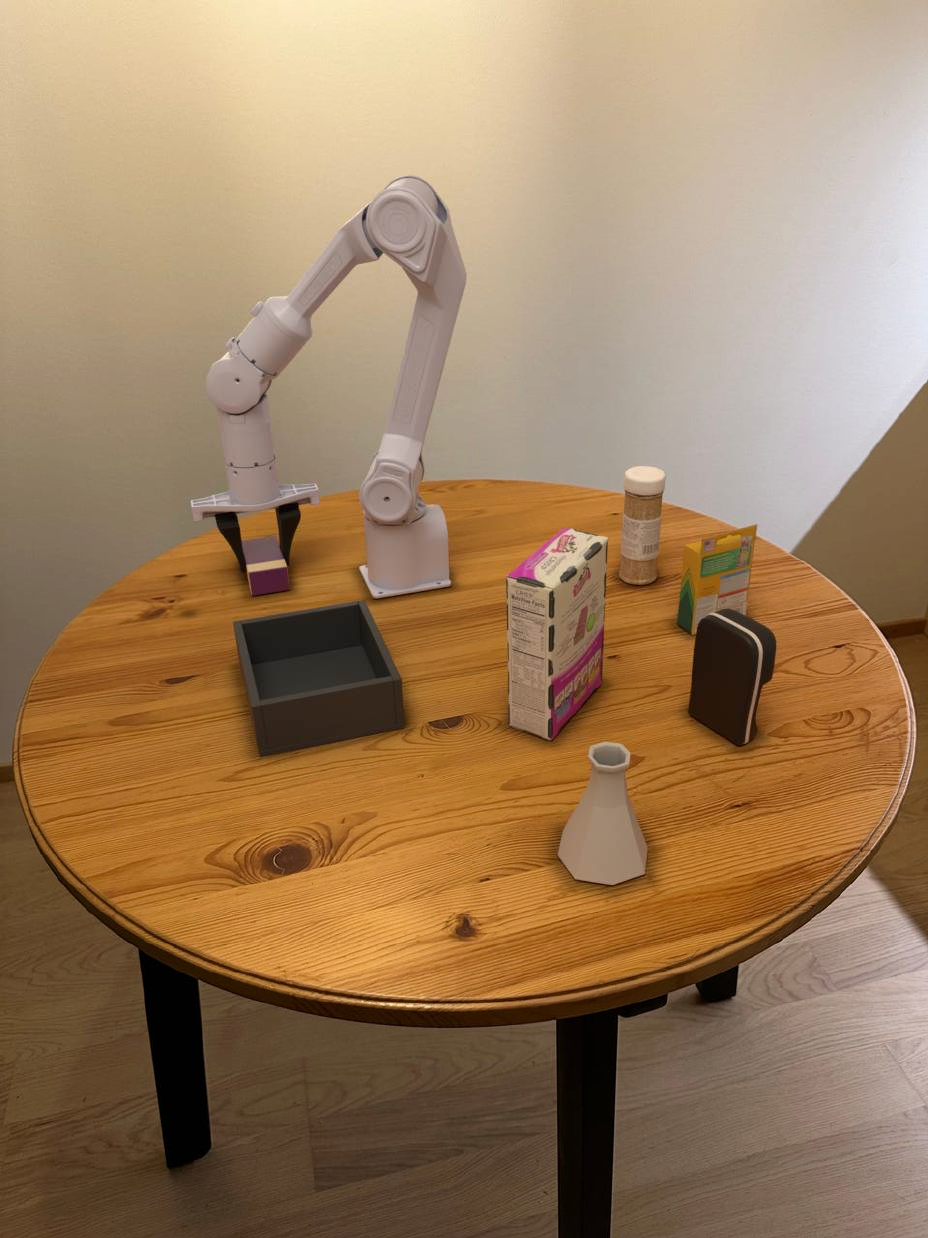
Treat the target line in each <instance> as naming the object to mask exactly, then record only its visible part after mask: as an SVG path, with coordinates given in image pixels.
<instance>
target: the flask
mask: <svg viewBox="0 0 928 1238" xmlns="http://www.w3.org/2000/svg"><path fill="white" fill-rule="evenodd" d="M631 755H632V754H631V752H630V751H629V750H628V749H627V748H626V746H624V744H623V743H619V742H610V741H602V742H599V743H595V744H592V745H590V746H589V751H588V755H587V761H588V763H589V764H590V766H591V767H590V776H589V779H588V782H587V786H586V788H585V790H584V791H583V793H582V796H581V798H580V799H579V801H578V803H577V805H576V807H575V809H574V810H573V811H572V814H570V815H571V816H570V817H569V818H568V820H567V821H566V824H565V826H564V827H563V830H562V833H561V838H560V841H559V845H558V846H559V847H558V851H557V856H558V858H559V860H561V862H562V863H563V865H564V866H565V867H566V869H567V870H568V871H569V873H570V874H571V876H572V877H573V879H575V880H578V881H585V882H591V883H597V884H603V885H608V886H614V885H617V884H620V883H623V882H625V881H628V880H631V879H634V878H637V877H640V876H642V875H645V874H646V869H647V868H646V867H647V858H648V849H649V848H648V845H647V842H646V839H645V836H644V833H643V831H642V828H641V826H640V824H639V821H638V818H637V816H636V813H635V809H634V806H633V804H632V801H631V798H630V795H629V791H628V785H627V776H626V770H629V768H630V763H631Z"/></svg>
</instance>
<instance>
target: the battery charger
mask: <svg viewBox="0 0 928 1238" xmlns="http://www.w3.org/2000/svg"><path fill="white" fill-rule="evenodd" d="M776 655H777V638H776V636H775V634H774V632H773V631H772V629H770V628H769V627H767V626H766V625H764V624H762V623H761V622H759V621H757V620H755V619H753V618H751V617H750V616H748V615H747V614H746V615H744V614H741V613H739V612H737V611H735V610H732V609H729V608H727V609H721V610H719V611H717V612H714V613H710V614H707V615H705V616H704V617H703V618H702V619H701V620H700V622H699V623H698V627H697V631H696V635H695V640H694V645H693V655H692V667H691V668H692V669H691V684H690V693H689V701H688V708H687V713H688V714H689V715H691V716H692V717H693V718H695V720H697V721H699V722H701V723H702V724H704V725H705V726H707V727H709V728H710V729H711V730H712V731H714V732H715V733H718V734H719V735H721V736H722V737H724V738H725V739H727V740H729V741H730V742H733V743H734V744H735V745H738V746H742V745H745V744H747V743H749V741H751V740H752V739H754V738H755V737H756V735H757V734H758V726H757V719H756V717H757V710H758V706H759V702H760V697H761V693H762V689H763V686H764V685H767V684H768V683H769V682H771V681H772V680H773V676H774V670H775V663H776Z"/></svg>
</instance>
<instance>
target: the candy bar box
mask: <svg viewBox="0 0 928 1238" xmlns="http://www.w3.org/2000/svg"><path fill="white" fill-rule="evenodd" d="M608 547H609V537H608V536H605V535H600V534H595V533H590V532H587V531H583V530H578V529H576V528H571V527H562V528H561V529H560V530H558V532H556V533H555V534H554V535H553V536H552V537H550V538H549V539H548V540H547V541H546V542H545V543H544V544H542V545H541V546H540V547H539V548H538V549H536V550H535V551H534V552H533V553H532V554H531V555H529V556H528V557H527V558H525V559H524V560H523V561H522V562H521V563H519V564H518V565H517V566H516V567H515V568H513V570H511V571H510V572H509V573H508V574H507V575H505V580H506V581H505V582H506V583H505V585H506V586H505V587H506V589H505V590H506V591H505V592H506V643H507V703H508V705H507V706H508V707H507V708H508V709H507V711H508V714H507V715H508V716H507V717H508V727H510V728H512V729H515V730H518V731H520V732H523V733H526V734H530V735H533V736H534V737H535V736H536V737H538V738H541V739H544V740H547V741H550V742H551V741H553V740H554V739H555V738H556V737H557V735H558V734H559V733H560V732H561V731H562V730H563V729H564V727H565V726H566V725H567V724H568V722H570V720H571V719H572V718H573V717H574V716H575V714H576V713H577V712H578V711H579V710H580V709H581V707H582V706H583V705H584V704H585V703H586V702H587V701H588V700H589V698H590V697H591V696H592V695H593V694H594V693H595V692H596V690H597V689H598V688H599V687H600V686H601V685H602V684H603V665H604V664H603V663H604V643H605V642H604V641H605V639H604V638H605V620H606V619H605V617H606V616H605V615H606V614H605V613H606V596H607V593H606V592H607V572H608V570H607V569H608Z"/></svg>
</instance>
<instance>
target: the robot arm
mask: <svg viewBox="0 0 928 1238" xmlns="http://www.w3.org/2000/svg"><path fill="white" fill-rule="evenodd" d="M383 255H385V256H386V257H388V258H389V259H391V260H392V261H393V262H395V263H396V264H397V265H398V266H400V267H401V268H402V270H403V271H404V272H405V275H406V276H407V277H408V279H409V280H410V282H411V283H412V285H413V286H414V288H415V289H416V291H417V296H416V299H415V303H414V307H413V311H412V316H411V319H410V324H409V328H408V332H407V337H406V340H405V345H404V348H403V353H402V358H401V361H400V365H399V370H398V374H397V378H396V380H395V381H396V383H395V385H394V389H393V394H392V398H391V401H390V406H389V409H388V410H389V411H388V415H387V418H386V422H385V427H384V431H383V434H382V438H381V441H380V445H379V448H378V449H377V450H376V452H375V453H374V455H373V456H372V459H371V462H370V467H369V469H368V472H367V474H366V477H365V479H364V480H363V481H362V483H361V485H360V488H359V492H358V499H359V504H360V506H361V509H362V515H363V529H364V540H365V541H364V542H365V552H366V553H365V554H366V564H364V565H359V567H358V568H359V569H358V570H359V572H360V574H361V576H362V578H363V580H364V582H365V585H366V587H367V589H368V591H369V593H370V595H371V597H372V598H373V599H383V598H388V597H395V596H401V595H407V594H412V593H419V592H423V591H424V592H425V591H431V590H437V589H442V588H448V587H451V586H452V580H451V579H450V554H449V552H450V549H449V531H448V524H447V520H446V519H447V518H446V516H445V513H444V511H443V509H442V507H441V506H440V505H439V504H426V501H424V499H423V498H422V496H421V494H420V492H419V490H420V485H421V483H422V481H423V479H424V475H425V464H424V459H423V448H424V444H425V441H426V436H427V431H428V428H429V423H430V419H431V416H432V412H433V409H434V405H435V401H436V397H437V394H438V390H439V386H440V382H441V379H442V375H443V371H444V368H445V363H446V360H447V357H448V352H449V349H450V345H451V341H452V337H453V333H454V329H455V326H456V323H457V319H458V316H459V315H458V314H459V312H460V311H459V310H460V308H461V303H462V299H463V296H464V292H465V288H466V284H467V276H468V275H467V270H466V266H465V264H464V261H463V257H462V253H461V250H460V247H459V244H458V241H457V237H456V234H455V231H454V227H453V223H452V219H451V214H450V209H449V208H448V206H447V205H446V203H445V202H444V200H443V199H442V198H441V196H440V195H439V194H438V192H437V191H436V190H435V188H434V187H433V186H432V185H431V184H430V183H429V182H428V181H427V180H425V179H424V178H422V177H420V176H416V175H411V174H410V175H409V174H407V175H401V176H398V177H395V178H394V179H392V180H391V181H389V183H388V184H387V185H386V186H385V187H384V188H383V190H381V191H380V192H378V193H377V194H375V196H374V197H373V198H372V200H370V201H369V202H368V203H367V204H365V206H363V207H362V208H361V209H360V210H359V211H358V212H356V214H354V215H353V216H352V217H351V218H349V220H347V221H346V222H345V223H344V224H343V225H342V226H341V227H340V228H339V229H338V230H337V231H336V232H335V234H334V235H333V236H332V238H331V239H330V240H329V242H328V243H327V244H326V246H325V247H324V249H323V250H322V251H321V252H320V253H319V255H318V256H317V258H316V259H314V261H313V262H312V264H311V265H310V266H309V268H308V269H307V271H306V272H305V273H304V274H303V276H302V277H301V279H300V280H299V281H298V282H297V283H296V285H295V286H294V288H293V289H292V290H291V291H290V293H289V294H288V295H282V296H271V297H269V298H268V299H267V300H266V301H265V302H263V301H262V300H260V301H258V302H257V303H256V304H255V305H254V306H253V308H252V309H251V310H250V315H252V316H253V317H252V319H250V321H249V322H248V324H247V325H246V326H245V327H244V329H242V331H241V332H240V333H239V335H238V336H237V337H236V338H235V337H233V336H232V337H231V338H229V340H228V341H227V342H226V344H225V348H226V349H227V350H228V351H227V352H226V353H225V354H223V356H222V357H221V358H220V359H219V360H216V361H215V362H213V363H212V364H211V366H210V370H209V372H208V373H207V376H206V378H205V391H206V394H207V396H208V399H209V400H210V402H211V403H212V404H213V405H214V406H215V407H216V412H217V419H218V429H219V434H220V435H219V436H220V441H221V442H220V443H221V448H222V456H223V461H224V468H225V475H226V480H227V481H226V482H227V487H228V490H227V491H225V492H220V493H217V494H213V495H210V496H207V497H203V498H202V497H201V498H198V499H191V500H190V507H191V512H192V518H193V522H194V523H198V522H199V523H200V522H203V521H204V520H205V519H209V518H214V519H215V524H216V528H217V530H218V531H219V532H220V534H221V535H222V537H223V538H224V539H225V540H226V542H227V543H228V545H229V547H230V548H231V550H232V551H233V554H234V555H235V558H236V560H237V562H238V565H239V569H240V572H241V574H243V573H244V574H245V573H246V572H247V568H246V561H245V557H244V553H243V548H242V541H243V540H242V534H241V526H240V523H239V517H238V514H246V513H252V512H262V511H267V510H272V509H273V510H275V515H276V522H277V523H276V524H277V530H278V540H279V541H278V543H279V546H280V549H281V552H282V555H283V558H284V559H285V562H286V565H287V567H289V566H290V555H291V548H292V543H293V540H294V536H295V534H296V531H297V529H298V526H299V524H300V522H301V519H302V518H301V517H302V513H301V512H302V511H301V509H300V506H301V505H302V506H303V505H308V504H310V506H318V505H321V498H320V490H319V488H318V487H319V486H318V485H317V483H316V482H315V483H304V484H280V481H279V474H278V466H277V465H278V464H277V457H276V449H275V442H274V434H273V426H272V418H271V414H270V407H269V400H268V395H267V392H268V391H269V389H270V387H271V385H272V383H273V380H275V379H277V378H278V377H279V376H280V375H281V373H282V372H283V371H284V370H285V369H286V368H287V367H288V366H289V364H290V363H291V361H293V360H294V358H295V357H296V356H297V355H298V353H299V352H300V351H301V350H302V349H303V347H304V346H305V345H306V344H307V343H308V342H309V340H311V338H312V336H313V332H314V331H313V323H312V322H313V321H312V316H313V315H314V314H315V312H317V310H318V309H319V308H320V307H321V306H322V305H323V303H324V302H325V301H326V300H327V299H328V298H329V296H330V295H331V294H332V293H333V292H334V291H335V289H337V288H338V287H339V285H340V284H341V283H342V282H343V281H344V280H345V278H346V277H347V276H348V275H349V274H350V273H351V272H352V271H353V270H354V268H355V267H356V266H358V265H362V264H367V263H372V262H377V261H379V260H380V258H381V257H382V256H383Z"/></svg>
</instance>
